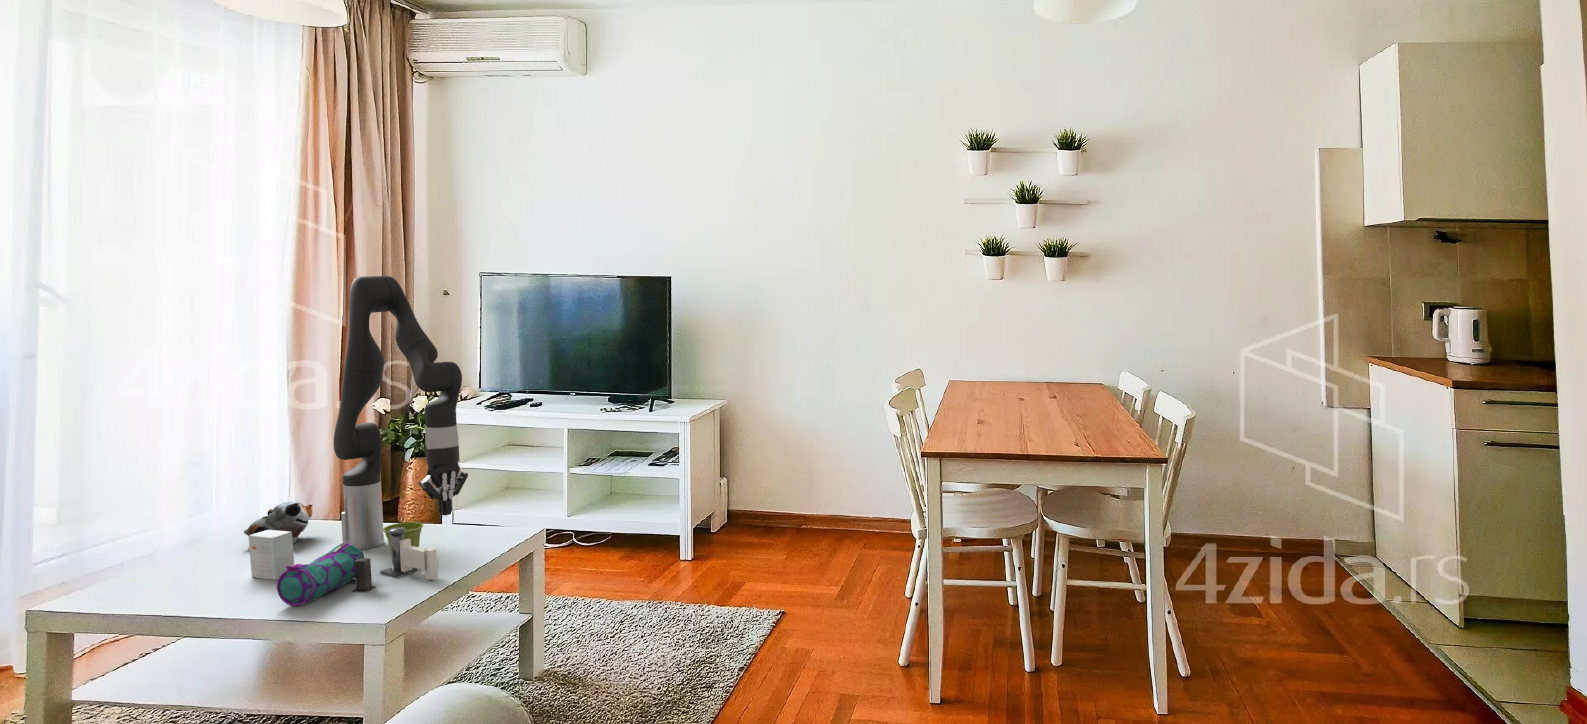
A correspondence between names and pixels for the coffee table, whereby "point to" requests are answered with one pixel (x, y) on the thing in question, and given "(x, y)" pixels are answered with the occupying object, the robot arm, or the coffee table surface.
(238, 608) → the coffee table surface
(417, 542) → the plant pot
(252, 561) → the small box
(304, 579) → the pencil case
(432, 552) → the gate
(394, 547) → the post
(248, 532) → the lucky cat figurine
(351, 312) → the robot arm
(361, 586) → the post
